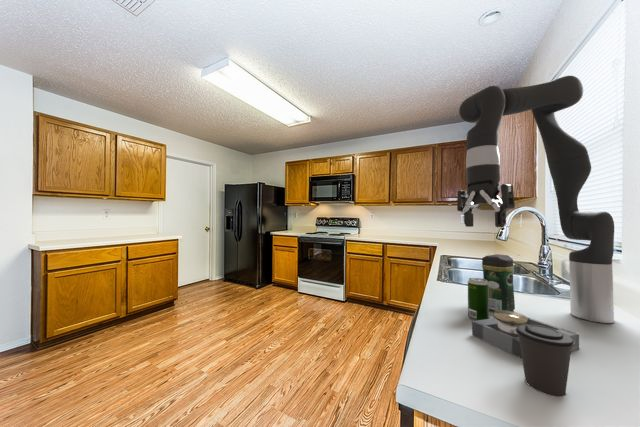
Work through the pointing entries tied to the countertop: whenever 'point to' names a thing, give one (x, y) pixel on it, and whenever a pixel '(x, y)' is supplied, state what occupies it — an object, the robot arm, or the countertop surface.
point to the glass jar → (509, 321)
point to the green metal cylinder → (478, 299)
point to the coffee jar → (499, 281)
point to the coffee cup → (545, 358)
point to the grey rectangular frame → (508, 343)
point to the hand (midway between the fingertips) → (483, 226)
